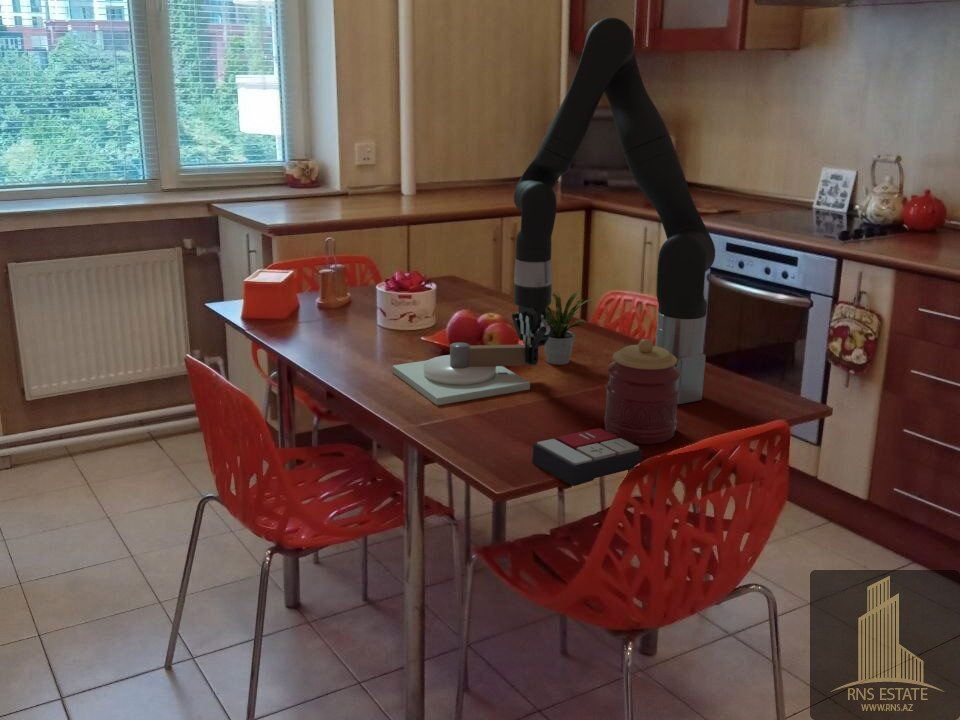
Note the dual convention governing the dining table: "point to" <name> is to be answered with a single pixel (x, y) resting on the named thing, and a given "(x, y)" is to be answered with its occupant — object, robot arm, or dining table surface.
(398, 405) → the dining table surface
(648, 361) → the canister
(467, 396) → the dial base
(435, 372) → the dial
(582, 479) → the calculator
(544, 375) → the dining table surface
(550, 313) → the house plant
